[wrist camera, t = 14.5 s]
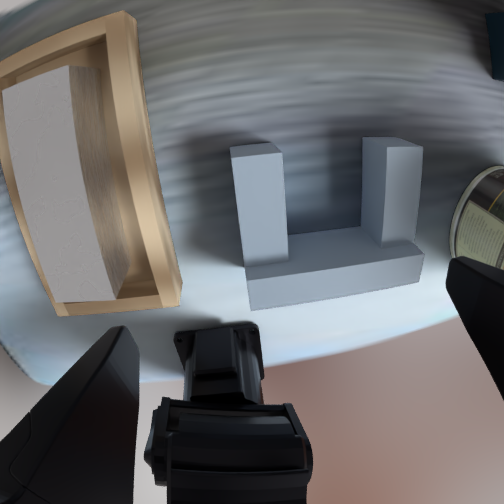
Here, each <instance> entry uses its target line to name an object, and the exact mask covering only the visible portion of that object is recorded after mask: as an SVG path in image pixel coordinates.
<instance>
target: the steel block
mask: <svg viewBox="0 0 504 504" xmlns="http://www.w3.org/2000/svg"><path fill="white" fill-rule="evenodd" d="M2 97H3V107H4V116H5V124H6V131H7V138H8V144H9V150H10V155H11V161H12V166H13V171H14V175H15V180H16V184H17V188H18V192H19V196H20V200H21V204H22V208H23V211H24V215H25V218H26V222H27V225H28V229H29V232H30V235H31V238H32V241H33V244H34V247H35V250H36V253H37V256H38V259H39V261H40V264H41V267H42V270H43V272H44V275H45V277H46V280H47V283H48V285H49V288H50V290H51V292H52V295H53V297H54V300H55V302H56V303H61V302H87V301H108V300H116V298H117V296H118V293H119V291H120V288H121V286H122V284H123V281H124V279H125V277H126V274H127V272H128V270H129V267H130V265H131V263H132V262H131V258H130V254H129V250H128V245H127V241H126V237H125V233H124V228H123V224H122V219H121V214H120V210H119V205H118V200H117V195H116V189H115V184H114V179H113V173H112V167H111V161H110V155H109V148H108V141H107V134H106V126H105V118H104V109H103V100H102V89H101V77H100V69H98V68H91V67H83V66H74V65H67V66H63V67H60V68H58V69H55V70H52V71H49V72H46V73H43V74H41V75H38V76H35V77H33V78H30V79H28V80H25V81H23V82H20V83H18V84H16V85H13V86H11V87H9V88H7V89H4V90H2Z"/></svg>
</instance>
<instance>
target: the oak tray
mask: <svg viewBox="0 0 504 504" xmlns="http://www.w3.org/2000/svg"><path fill="white" fill-rule="evenodd" d="M67 65H74V66H83V67H91V68H98V69H100V77H101V89H102V100H103V109H104V118H105V126H106V134H107V141H108V148H109V155H110V161H111V167H112V173H113V179H114V184H115V189H116V195H117V200H118V205H119V210H120V214H121V219H122V224H123V228H124V233H125V237H126V241H127V245H128V250H129V254H130V258H131V262H132V263H131V265H130V267H129V270H128V272H127V274H126V277H125V279H124V281H123V284H122V286H121V288H120V291H119V293H118V296H117V298H116V300H108V301H87V302H61V303H56V302H55V300H54V297H53V295H52V292H51V290H50V288H49V285H48V283H47V280H46V277H45V275H44V272H43V270H42V267H41V264H40V261H39V259H38V256H37V253H36V250H35V247H34V244H33V241H32V238H31V235H30V232H29V229H28V225H27V222H26V218H25V215H24V211H23V208H22V204H21V200H20V196H19V192H18V188H17V184H16V180H15V175H14V171H13V166H12V161H11V155H10V150H9V144H8V138H7V131H6V124H5V116H4V107H3V97H2V90H4V89H7V88H9V87H11V86H13V85H16V84H18V83H20V82H23V81H25V80H28V79H30V78H33V77H35V76H38V75H41V74H43V73H46V72H49V71H52V70H55V69H58V68H60V67H63V66H67ZM0 160H1V165H2V169H3V173H4V177H5V180H6V184H7V188H8V191H9V195H10V198H11V201H12V205H13V208H14V211H15V214H16V217H17V220H18V223H19V226H20V229H21V232H22V234H23V237H24V240H25V243H26V245H27V248H28V250H29V253H30V255H31V258H32V260H33V263H34V265H35V268H36V270H37V272H38V275H39V277H40V279H41V281H42V284H43V286H44V288H45V290H46V292H47V295H48V297H49V299H50V301H51V303H52V305H53V307H54V309H55V311H56V313H57V315H58V317H61V316H76V315H89V314H102V313H114V312H125V311H136V310H146V309H156V308H166V307H175V306H179V302H180V295H181V289H182V283H183V282H182V278H181V275H180V271H179V266H178V262H177V258H176V254H175V250H174V246H173V241H172V237H171V233H170V228H169V224H168V219H167V214H166V210H165V205H164V200H163V195H162V191H161V185H160V180H159V175H158V170H157V165H156V159H155V154H154V148H153V142H152V136H151V130H150V124H149V118H148V111H147V105H146V98H145V91H144V83H143V76H142V68H141V59H140V50H139V41H138V31H137V20H135V19H134V18H133V17H132V16H130V15H129V14H128V13H127V12H125V11H124V10H123V11H119V12H116V13H112V14H109V15H106V16H103V17H100V18H97V19H94V20H91V21H88V22H85V23H82V24H80V25H77V26H74V27H72V28H69V29H67V30H64V31H62V32H60V33H57V34H55V35H52V36H50V37H48V38H46V39H43V40H41V41H39V42H37V43H35V44H33V45H31V46H29V47H27V48H25V49H23V50H21V51H19V52H17V53H15V54H13V55H11V56H9V57H8V58H6V59H4V60H2V61H1V62H0Z"/></svg>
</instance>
